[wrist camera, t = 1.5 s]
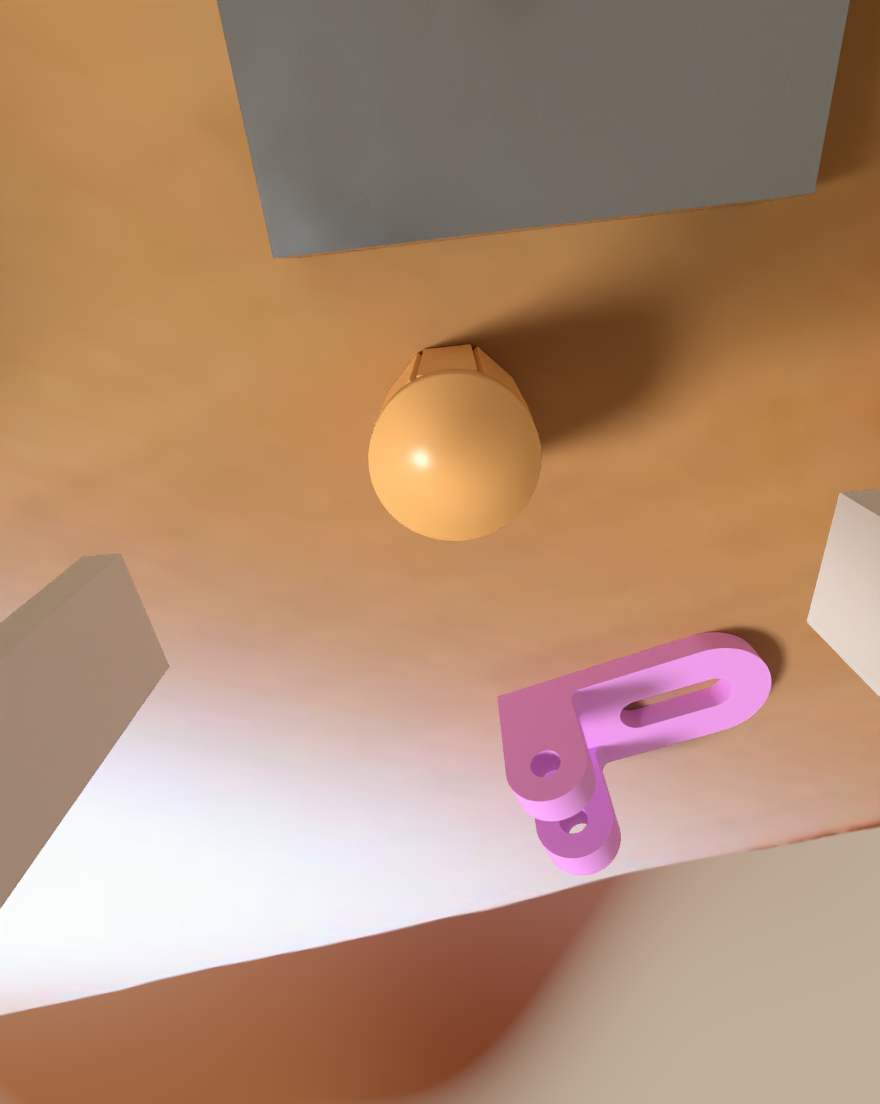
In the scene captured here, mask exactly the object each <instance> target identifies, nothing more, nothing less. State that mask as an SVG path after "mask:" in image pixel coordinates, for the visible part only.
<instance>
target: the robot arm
mask: <svg viewBox="0 0 880 1104" xmlns="http://www.w3.org/2000/svg"><path fill="white" fill-rule="evenodd" d="M807 623H808V624H809V625H810V626H811V627H812V628H813V629H814V630H815V631H816V632H817V633H818V634H819V635H820V636H821V637H822V638H823V639H824V640H825V641H826V642H827V643H828V644H829V645H830V646H831V647H832V648H833V649H834V650H835V651H836V653H837V654H838V655H839V656H840V657H841V658H842V659H843V660H844V661H845V662H846V663H847V664H848V665H849V666H850V667H851V668H852V669H853V670H854V671H855V672H856V673H857V674H858V675H859V676H860V677H861V678H862V679H863V680H864V681H865V682H866V684H867V685H868V686H869V687H870V688H871V689H872V690H873V691H874V692H875V693H876V694H877V695H878V696H879V697H880V489H874V490H862V491H850V492H840V494H839V497H838V501H837V505H836V509H835V513H834V517H833V521H832V525H831V529H830V533H829V537H828V541H827V545H826V548H825V552H824V556H823V560H822V564H821V568H820V572H819V576H818V580H817V584H816V588H815V592H814V596H813V599H812V603H811V607H810V611H809V615H808V619H807ZM168 667H169V664H168V662H167V660H166V657H165V655H164V653H163V650H162V648H161V646H160V643H159V641H158V639H157V636H156V634H155V632H154V629H153V627H152V625H151V622H150V620H149V618H148V615H147V613H146V611H145V608H144V606H143V604H142V601H141V599H140V597H139V594H138V592H137V590H136V587H135V585H134V583H133V580H132V578H131V576H130V573H129V571H128V569H127V566H126V564H125V562H124V559H123V557H122V555H121V553H120V554H108V555H96V556H84V557H82V558H81V559H79V560H78V561H77V562H76V563H74V564H73V565H72V566H71V567H69V568H68V569H67V570H66V571H64V572H63V573H62V574H61V575H59V576H58V577H57V578H56V579H54V580H53V581H52V582H51V583H49V584H48V585H47V586H46V587H45V588H43V589H42V590H41V591H40V592H38V593H37V594H36V595H35V596H33V597H32V598H31V599H30V600H28V601H27V602H26V603H25V604H23V605H22V606H21V607H20V608H18V609H17V610H16V611H15V612H13V613H12V614H11V615H10V616H8V617H7V618H6V619H5V620H4V621H2V622H1V623H0V908H1V907H2V906H3V904H4V903H5V901H6V900H7V898H8V897H9V896H10V894H11V893H12V891H13V890H14V888H15V887H16V885H17V884H18V883H19V881H20V880H21V878H22V877H23V875H24V874H25V873H26V871H27V870H28V868H29V867H30V865H31V864H32V863H33V861H34V860H35V858H36V857H37V855H38V854H39V852H40V851H41V850H42V848H43V847H44V845H45V844H46V842H47V841H48V840H49V838H50V837H51V835H52V834H53V832H54V831H55V830H56V828H57V827H58V825H59V824H60V822H61V821H62V819H63V818H64V817H65V815H66V814H67V812H68V811H69V809H70V808H71V807H72V805H73V804H74V802H75V801H76V799H77V798H78V797H79V795H80V794H81V792H82V791H83V789H84V788H85V786H86V785H87V784H88V782H89V781H90V779H91V778H92V776H93V775H94V774H95V772H96V771H97V769H98V768H99V766H100V765H101V764H102V762H103V761H104V759H105V758H106V756H107V755H108V753H109V752H110V751H111V749H112V748H113V746H114V745H115V743H116V742H117V741H118V739H119V738H120V736H121V735H122V733H123V732H124V731H125V729H126V728H127V726H128V725H129V723H130V722H131V720H132V719H133V718H134V716H135V715H136V713H137V712H138V710H139V709H140V708H141V706H142V705H143V703H144V702H145V700H146V699H147V698H148V696H149V695H150V693H151V692H152V690H153V689H154V687H155V686H156V685H157V683H158V682H159V680H160V679H161V677H162V676H163V675H164V673H165V672H166V670H167V669H168Z"/></svg>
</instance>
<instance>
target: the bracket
mask: <svg viewBox="0 0 880 1104" xmlns="http://www.w3.org/2000/svg"><path fill="white" fill-rule="evenodd" d="M714 678H719V680H718V681H717V682H716V683H715V684H714V685H713V686H711V687H709V688H706V689H703V690H699V691H696V692H693V693H689V694H686V695H682V696H679V697H676V698H672V699H669V700H665V701H662V702H659V703H655V704H652V705H649V706H645V707H642V708H638V709H635V710H623V708H624V707H625V706H627V705H628V704H630V703H632V702H635V701H639V700H642V699H645V698H649V697H652V696H655V695H659V694H662V693H665V692H669V691H672V690H676V689H679V688H682V687H686V686H689V685H692V684H696V683H699V682H702V681H706V680H709V679H714ZM770 689H771V675H770V671H769V669H768V667H767V665H766V664H765V663H764V662H763V660H762V659H761V658H760V656H759V655H758V654H757V653H756V651H755V650H754V649H753V648H752V646H751V645H750V644H749V643H748V642H746V641H745V640H743V639H742V638H740V637H738V636H735V635H732V634H728V633H721V632H708V633H701V634H696V635H693V636H689V637H686V638H683V639H680V640H677V641H673V642H670V643H667V644H664V645H661V646H658V647H654V648H651V649H648V650H645V651H642V652H639V653H635V654H632V655H629V656H626V657H623V658H620V659H616V660H613V661H610V662H607V663H604V664H601V665H597V666H594V667H591V668H588V669H585V670H581V671H578V672H575V673H572V674H569V675H566V676H562V677H559V678H556V679H553V680H550V681H547V682H543V683H540V684H537V685H534V686H531V687H528V688H524V689H521V690H518V691H515V692H512V693H509V694H505V695H502V696H499V697H498V706H499V715H500V724H501V733H502V742H503V751H504V759H505V768H506V776H507V780H508V783H509V785H510V787H511V789H512V791H513V792H514V794H515V796H516V798H517V800H518V801H519V803H520V805H521V806H522V808H523V809H524V810H525V811H526V812H527V813H528V814H529V815H531V816H532V817H534V818H535V823H536V829H537V834H538V837H539V839H540V841H541V843H542V844H543V846H544V848H545V850H546V852H547V853H548V855H549V857H550V858H551V860H552V861H553V863H554V864H555V865H556V866H557V867H559V868H560V869H561V870H563V871H565V872H567V873H570V874H573V875H590V874H594V873H597V872H599V871H601V870H602V869H604V868H605V867H607V866H608V865H609V864H610V863H611V862H612V860H613V859H614V858H615V856H616V854H617V852H618V850H619V847H620V841H621V834H620V828H619V825H618V821H617V818H616V815H615V811H614V808H613V805H612V801H611V798H610V795H609V791H608V788H607V785H606V781H605V778H604V775H603V767H604V766H605V764H607V763H608V762H611V761H615V760H618V759H622V758H625V757H629V756H632V755H636V754H640V753H643V752H647V751H650V750H654V749H658V748H661V747H665V746H668V745H672V744H676V743H679V742H683V741H686V740H690V739H694V738H697V737H701V736H704V735H708V734H711V733H715V732H719V731H722V730H725V729H729V728H731V727H734V726H736V725H738V724H740V723H742V722H743V721H745V720H747V719H748V718H750V717H751V716H752V715H753V714H755V713H756V712H757V711H758V710H759V709H760V707H761V706H762V705H763V704H764V702H765V701H766V699H767V697H768V695H769V692H770ZM580 823H585V824H587V825H586V827H585V828H584V829H583V830H582V831H581V832H579V833H575V834H570V833H569V831H570V830H571V828H572V827H573V826H575V825H577V824H580Z"/></svg>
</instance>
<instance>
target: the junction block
mask: <svg viewBox="0 0 880 1104" xmlns="http://www.w3.org/2000/svg"><path fill="white" fill-rule="evenodd" d="M849 3H850V0H217V4H218V8H219V13H220V17H221V22H222V27H223V31H224V36H225V40H226V45H227V49H228V54H229V59H230V63H231V68H232V72H233V77H234V81H235V86H236V91H237V95H238V100H239V104H240V109H241V113H242V118H243V123H244V127H245V132H246V136H247V141H248V145H249V150H250V154H251V159H252V164H253V168H254V173H255V177H256V182H257V186H258V191H259V196H260V200H261V205H262V209H263V214H264V218H265V223H266V228H267V232H268V237H269V241H270V246H271V250H272V255H273V258H301V257H310V256H318V255H326V254H335V253H343V252H351V251H360V250H368V249H376V248H384V247H393V246H401V245H409V244H418V243H426V242H434V241H443V240H451V239H459V238H468V237H476V236H484V235H493V234H501V233H509V232H518V231H526V230H534V229H543V228H551V227H559V226H568V225H576V224H584V223H592V222H601V221H609V220H617V219H626V218H634V217H642V216H651V215H659V214H667V213H676V212H684V211H692V210H701V209H709V208H717V207H726V206H734V205H742V204H751V203H759V202H766V201H772V200H777V199H783V198H789V197H795V196H801V195H807V194H813V193H815V188H816V182H817V177H818V171H819V166H820V160H821V155H822V150H823V144H824V139H825V133H826V128H827V122H828V117H829V112H830V106H831V101H832V95H833V90H834V84H835V79H836V73H837V68H838V63H839V57H840V52H841V46H842V41H843V35H844V30H845V25H846V19H847V14H848V8H849Z"/></svg>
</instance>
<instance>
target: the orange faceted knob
mask: <svg viewBox="0 0 880 1104" xmlns="http://www.w3.org/2000/svg"><path fill="white" fill-rule="evenodd" d="M374 427H375V428H374V430H373V432H372V437H371V441H370V446H369V459H368V462H369V472H370V476H371V480H372V484H373V486H374V489H375V491H376V494H377V495H378V497H379V499H380V501H381V502H382V504H383V505H384V507H385V508H386V509H387V511H388V512H389V513H390V514H391V515H392V516H393V517H394V518H395V519H396V520H398V521H399V522H400V523H401V524H403V525H404V526H406V527H407V528H409V529H411V530H412V531H414V532H417V533H419V534H421V535H424V536H427V537H430V538H434V539H439V540H446V541H463V540H470V539H475V538H479V537H482V536H485V535H488V534H490V533H493V532H494V531H496V530H498V529H500V528H502V527H503V526H505V525H506V524H507V523H509V522H510V521H511V520H512V519H514V518H515V517H516V516H517V515H518V514H519V513H520V512H521V510H522V509H523V508H524V507H525V506H526V504H527V503H528V501H529V500H530V498H531V496H532V494H533V492H534V490H535V488H536V485H537V482H538V479H539V475H540V470H541V459H542V454H541V444H540V440H539V435H538V432H537V430H536V427H535V424H534V422H533V417H532V415H531V413H530V410H529V408H528V406H527V404H526V402H525V401H524V399H523V397H522V395H521V393H520V391H519V389H518V387H517V385H516V383H515V382H514V380H513V378H512V377H511V376H510V375H509V374H508V373H507V372H506V371H505V370H504V369H502V368H501V367H500V366H499V365H498V364H497V363H496V362H494V361H493V360H492V359H491V358H490V357H489V356H488V355H487V354H485V353H484V352H483V351H482V350H481V349H480V348H479V347H476V348H475V349H474V351H472V347H471V344H468V345H458V346H449V347H440V348H431V349H423V353H422V356H421V355H420V354H419V353H417V354H416V356H415V357H414V358H413V360H412V361H411V362H410V364H409V365H408V366H407V367H406V369H405V370H404V371H403V373H402V374H401V375H400V377H399V378H398V379H397V381H396V382H395V383H394V385H393V386H392V387H391V389H390V390H389V392H388V395H387V397H386V399H385V402H384V404H383V406H382V408H381V411H380V413H379V415H378V418H377V420H376V422H375V424H374Z"/></svg>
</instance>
